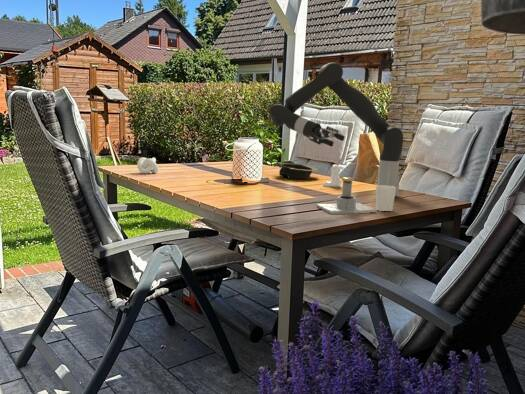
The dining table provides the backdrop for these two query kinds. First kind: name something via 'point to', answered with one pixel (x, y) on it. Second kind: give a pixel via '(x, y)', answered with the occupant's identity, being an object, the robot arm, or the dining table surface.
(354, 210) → the hinge leaves
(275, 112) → the robot arm
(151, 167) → the white animal figurine
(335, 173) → the sitting furry creature
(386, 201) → the white cup
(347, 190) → the hinge pin
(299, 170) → the stone bowl
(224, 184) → the dining table surface
